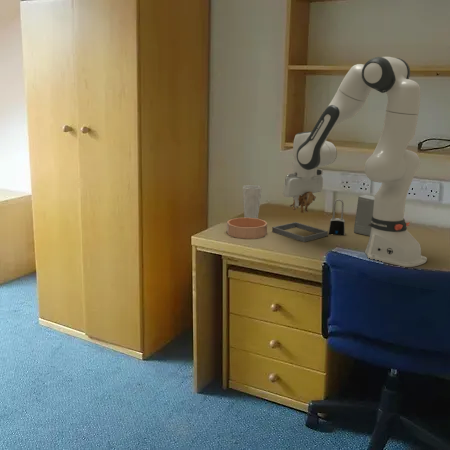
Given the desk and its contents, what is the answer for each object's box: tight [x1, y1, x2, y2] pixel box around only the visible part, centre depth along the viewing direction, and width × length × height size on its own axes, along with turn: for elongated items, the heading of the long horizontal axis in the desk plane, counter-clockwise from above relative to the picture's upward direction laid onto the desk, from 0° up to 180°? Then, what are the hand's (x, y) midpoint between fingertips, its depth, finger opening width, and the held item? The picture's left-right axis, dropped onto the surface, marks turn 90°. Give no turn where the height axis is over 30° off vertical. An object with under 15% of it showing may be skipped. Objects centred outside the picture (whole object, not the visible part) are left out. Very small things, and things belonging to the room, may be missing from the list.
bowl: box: [226, 217, 268, 240], centre depth 242 cm, size 16×16×4 cm
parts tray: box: [271, 221, 329, 243], centre depth 243 cm, size 18×14×2 cm
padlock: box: [328, 198, 346, 236], centre depth 242 cm, size 7×4×15 cm, turn 78°
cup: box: [242, 184, 263, 219], centre depth 260 cm, size 8×8×16 cm
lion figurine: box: [289, 192, 317, 214], centre depth 240 cm, size 15×5×9 cm, turn 32°
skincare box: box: [353, 194, 375, 237], centre depth 244 cm, size 8×7×16 cm
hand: (302, 205), depth 239 cm, fingers closed on lion figurine, 4 cm apart
